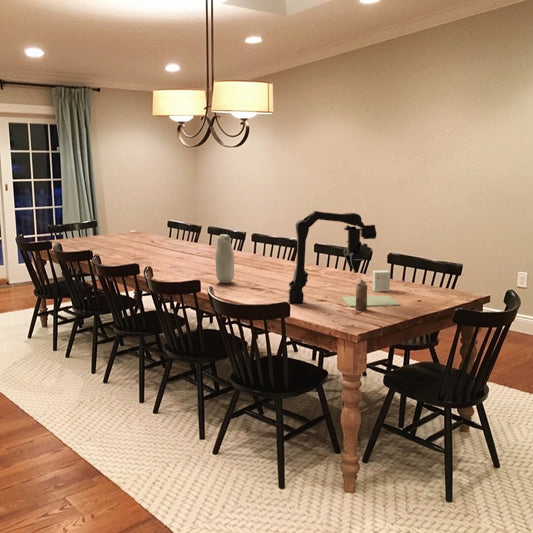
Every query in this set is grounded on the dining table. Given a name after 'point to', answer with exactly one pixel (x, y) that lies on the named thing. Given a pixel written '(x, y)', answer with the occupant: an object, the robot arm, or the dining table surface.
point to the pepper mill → (361, 296)
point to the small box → (381, 280)
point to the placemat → (372, 301)
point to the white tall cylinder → (224, 259)
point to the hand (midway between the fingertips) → (353, 271)
